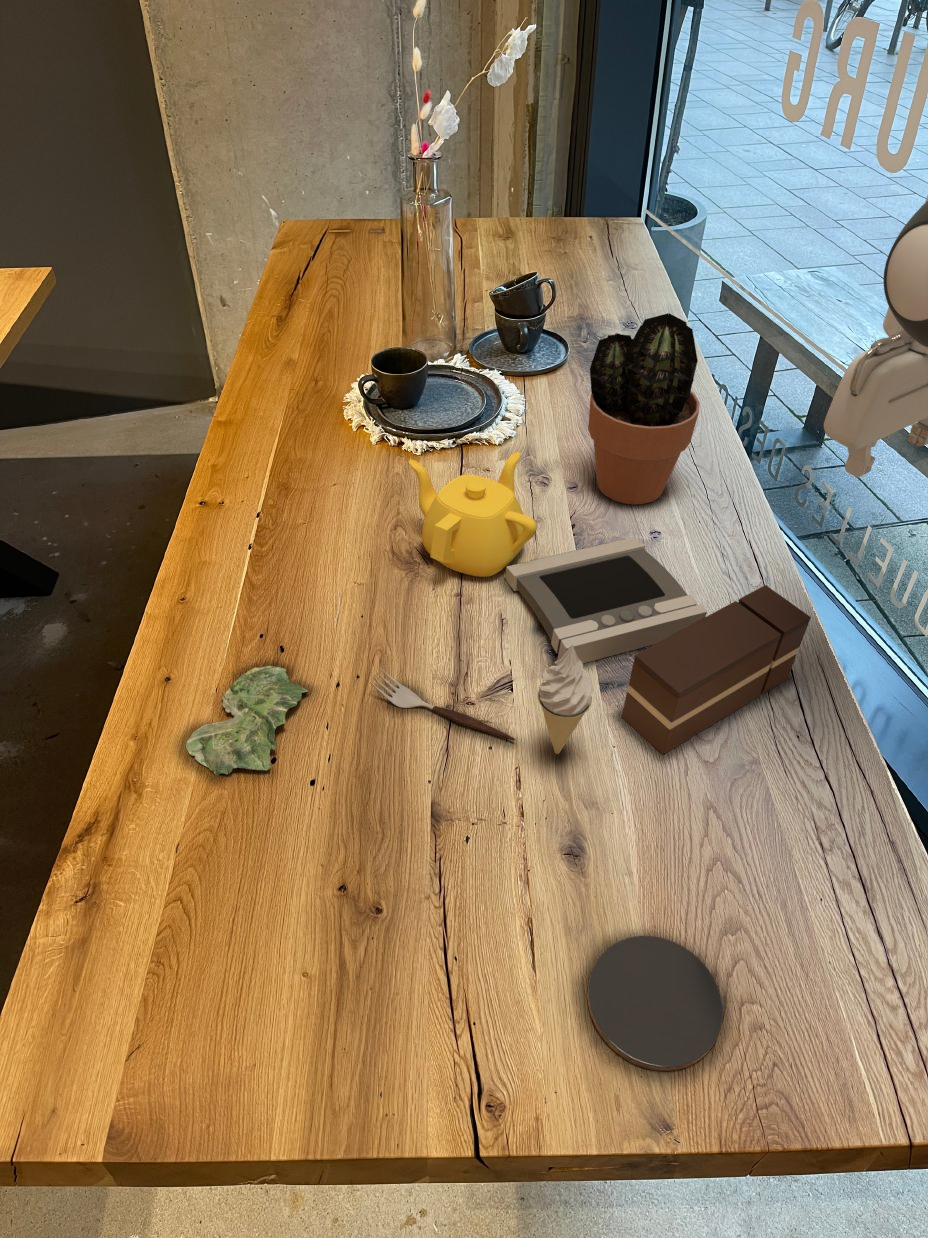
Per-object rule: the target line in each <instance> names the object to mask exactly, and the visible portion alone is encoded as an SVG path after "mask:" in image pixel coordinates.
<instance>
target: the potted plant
mask: <svg viewBox="0 0 928 1238" xmlns="http://www.w3.org/2000/svg"><path fill="white" fill-rule="evenodd" d="M696 348H697V347H696V343H695V335H694V331H693V328H692V327H690V326H688V323H687V321H686V320H683V319H681V318H679V317H678V316H675V315H673V314H671V313H670V312H667V313H664V314H660V315H656V316H652V317H648V318H645V319H644V320H643V322H642V323H641V324H640V325H639V327H638V329H637V330H636V333H635V335H634V336H633V338H632V336H631V335H630V334H621V333H618V332H616V333H614V334H608V335H607V337H604V338H602V339H599V340H598V343H597V346H596V349H595V351H594V355H593V358H592V360H591V363H590V367H589V378H590V391H591V393H590V400H589V412H588V415H589V416H588V425H587V426H588V427H587V430H588V432H589V435H590V437H591V439H592V440H593V449H594V461H595V472H596V473H595V474H596V484H597V487H598V490H599V491H601V493H602V494H603V495H604V496H606V497H608V498H609V499H611V500H612V501H615V502H617V503H620V504H625V505H626V504H627V505H644V504H648V503H652V502H654V501H656V500H657V499H659V498H660V497H661V495H663V493H664V491H665V489H666V487H667V484H668V482H669V480H670V477H671V475H672V474H673V471H674V468H675V466H676V464H677V462H678V460H679V458H680V456H681V453H683V452H684V451H685V450H686V449H687V448H688V447H689V445H690V444H691V442H692V438H693V435H694V431H695V427H696V424H697V420H698V417H699V413H700V402H701V401H699V399H698V397H697V395H696V393H695V392H693V391H692V387H693V384H694V380H695V379H694V378H695V374H696V370H697V365H698V361H699V359H698V353H697V349H696Z"/></svg>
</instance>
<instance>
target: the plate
mask: <svg viewBox="0 0 928 1238" xmlns="http://www.w3.org/2000/svg"><path fill="white" fill-rule="evenodd" d="M591 969H592V970H591V973H590V975H589V980H588V985H587V1006H588V1010H589V1015H590V1018H591V1020H592V1023H593V1025H594V1027H595V1030H596V1031H597V1032H598V1034H599V1035H600V1037H601V1038H602V1040H603V1041H604V1042H605V1043H606V1044H607V1046H608V1047H609V1048H610V1049H612V1051H614V1052H615V1053H616V1054H617V1055H618V1056H620V1057H621V1058H623V1059H624V1060H626V1061H628V1062H629V1063H631V1064H633V1065H635V1066H637V1067H640V1068H644V1069H648V1070H652V1071H657V1072H672V1071H679V1070H683V1069H686V1068H688V1067H690V1066H693V1065H695V1064H696V1063H698V1062H699V1061H700V1060H702V1059H703V1058H704V1057H706V1055H707V1054H709V1052H710V1051H711V1050H712V1048H713V1046H714V1045H715V1044H716V1041H717V1039H718V1037H719V1035H720V1032H721V1029H722V1024H723V1018H724V1006H723V1000H722V996H721V991H720V989H719V986H718V984H717V982H716V980H715V978H714V976H713V975H712V973H711V971H710V970H709V968H708V967H707V966H706V964H704V962H703V961H702V960H701V959H700V958H699V957H698V956H697V955H696V954H694V952H692V951H690V949H687V948H686V947H685V946H683V945H681V944H679V943H677V942H675V941H672V940H670V939H667V938H664V937H659V936H653V935H638V936H637V935H636V936H632V937H626V938H624V939H622V940H619V941H617V942H614V943H613V944H612V945H610V946H609V947H608V948H607V949H605V950H604V951H603V952H602V953H601V954H600V956H599V957H598V959H596V962H595V963H594V965H593V967H592V968H591Z"/></svg>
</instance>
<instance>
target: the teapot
mask: <svg viewBox="0 0 928 1238" xmlns="http://www.w3.org/2000/svg"><path fill="white" fill-rule="evenodd" d="M520 458H521V452H520V451H515V452H513V453H512V454H511V455H509V457H508V458H507V459H506V461H505V463H504V466H503V467H502V470H501V473H500V475H499V477H498V480H497V481H496V480H493V479H491V478H489V477H484V476H481V475H476V474H461V475H459V476H456V477H455V478H453V479H451V481H449V482H448V483H447V484H445V485H444V486H443V487H442V488H441V489H440V490H439V491H438V493H437V492H436V490H435V487H434V485H433V481H432V479H431V476H430V474H429V472H428V471H427V470H428V469H426V468H425V466H423V464H422V463H420V462H419V461H417V460H415V459H414V460H413V459H409V460H408V463H409V466H410V467H411V468H412V470H413V471H414V473H415V475H416V477H417V482H418V503H419V504H418V505H419V508H420V511H421V513H422V515H423V517H424V520H423V525H422V531H421V542H422V545H423V546H424V548H425V550H426V552H428V554H429V556H430V558H431V559H433V560H436V561H437V562H438V563H440V564H442V566H444V567H446V568H448V569H450V570H452V571H455V572H458V573H461V574H465V575H468V576H473V577H481V578H485V577H491V576H494V575H496V574H498V573H499V572H502V570H503V569H504V568H506V567H507V566H509V564H510V563H511V562H512V561H513V560H515V558H516V557H517V556H518V554H519V553H520V552H521V551H522V549H523V547H524V546H525V544H527V542H529V541H530V540H531V539H532V538H533V537H534V536H535V534H536V532H537V529H538V524H537V522H536V521H535V520H534V518H533V517H531V516H529V515H526V514H524V512H523V510H522V507H521V505H520V503H519V501H518V498H517V497H516V493H515V491H516V490H515V472H516V471H515V470H516V468H517V465H518V462H519V461H520Z"/></svg>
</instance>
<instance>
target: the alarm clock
mask: <svg viewBox="0 0 928 1238" xmlns="http://www.w3.org/2000/svg"><path fill="white" fill-rule="evenodd" d="M505 578H506V579H505V580H506V581H505V582H506V583H507V584H508V585H509V586H510V588H511V589H512V590H513V592H516V591H518V592H519V593H520V595H522V597H523V598H524V599H525V601H526V603H528V605H529V606H530V608H531V609H532V611H533V612H534V614H535V615H536V616H537V619H538V620H539V622H540V624H541V625H542V627H543V629H544V630H545V632H546V634H547V635H548V637H549V639H550V640H551V642H550V645H551V647H552V648H553V650H554V652H555V654H558V655H557V660H556V661H558V660H560V659H561V658H562V656H563V655H564V654H565V653H566V651H567V650H568V649H569V648H570V647H571V645H573V647H574V650H575V652H576V654H577V657H578V659H579V660H580V661H581V662H582V663H583V664H587V663H591V662H593V661H598V660H601V659H605V658H608V657H612V656H616V655H620V654H624V653H627V652H631V651H635V650H638V649H643V648H646V647H651V646H652V645H654V644H656V643H658V642H660V641H662V640H664V639H666V638H667V637H669V636H671V635H673V634H675V633H677V632H679V631H680V630H682V629H684V628H686V627H688V626H690V625H692V624H694V623H695V622H697V621H699V620H701V619H703V618H705V617H707V614H708V610H707V608H705V606H704V604H702V603H699V604H698V603H697V602H696V601H695V599H694V597H692V595H691V594H688V593H687V592H686V590H685V589H684V588H683V587H682V586H681V585H680V583H679V582H678V581H677V579H676V578H675V577H674V576H673V575H672V574H671V573H670V572H669V571H668V569H667V568H666V567H664V565H662V564H661V562H659V561H658V560H657V559H656V558H655V557H654V556H653V555H651V554H650V553H649V552H648V551H647V550H646V545H645V544H644V542H642V541H640V540H639V539H638V538H637V537H635V536H634V537H630V538H626V539H622V540H616V541H613V542H605V543H601V544H596V545H593V546H588V547H584V548H579V549H575V550H570V551H566V552H561V553H558V554H553V555H548V556H544V557H540V558H535V559H531V560H529V561H525V562H521V563H517V564H512V565H507V566H506V567H505Z"/></svg>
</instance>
